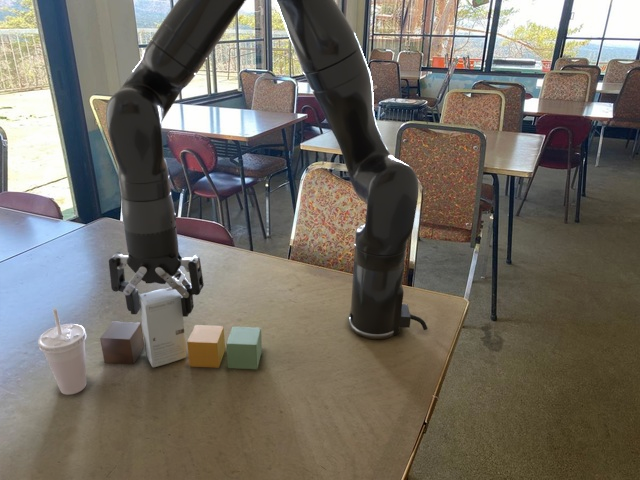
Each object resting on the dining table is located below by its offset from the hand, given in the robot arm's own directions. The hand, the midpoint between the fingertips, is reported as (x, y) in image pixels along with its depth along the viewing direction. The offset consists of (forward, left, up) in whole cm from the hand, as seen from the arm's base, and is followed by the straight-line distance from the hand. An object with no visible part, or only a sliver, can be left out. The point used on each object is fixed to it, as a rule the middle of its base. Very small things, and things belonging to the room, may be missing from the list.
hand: (161, 313), depth 80 cm
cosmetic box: (0, 0, -9) cm, 9 cm away
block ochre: (-7, 0, -9) cm, 11 cm away
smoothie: (+12, +9, -9) cm, 17 cm away
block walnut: (+7, 0, -9) cm, 11 cm away
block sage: (-14, 0, -9) cm, 16 cm away
